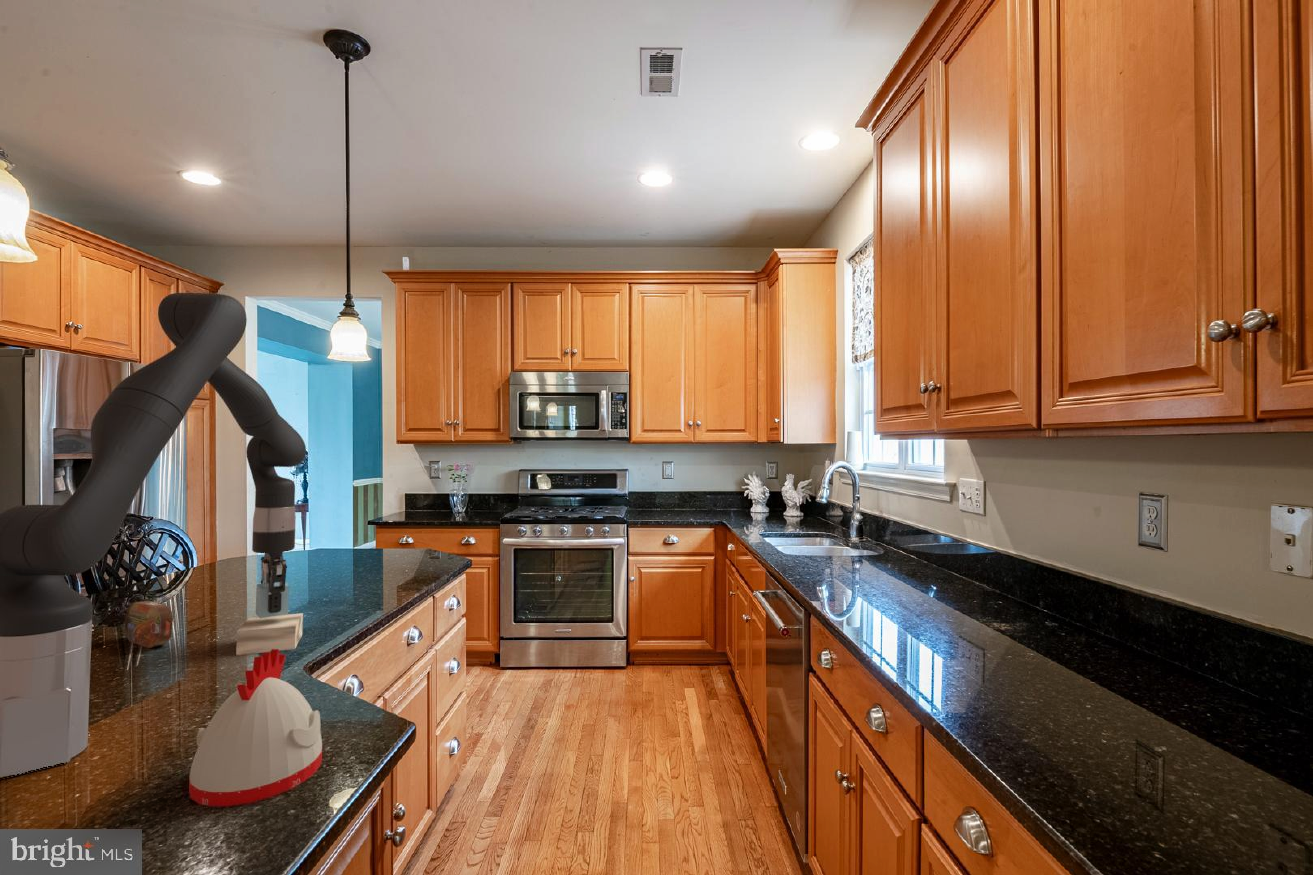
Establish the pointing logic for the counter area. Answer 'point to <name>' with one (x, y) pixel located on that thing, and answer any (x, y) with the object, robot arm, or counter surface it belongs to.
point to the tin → (148, 624)
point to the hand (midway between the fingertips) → (271, 608)
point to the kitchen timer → (256, 740)
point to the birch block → (269, 634)
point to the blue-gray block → (263, 601)
